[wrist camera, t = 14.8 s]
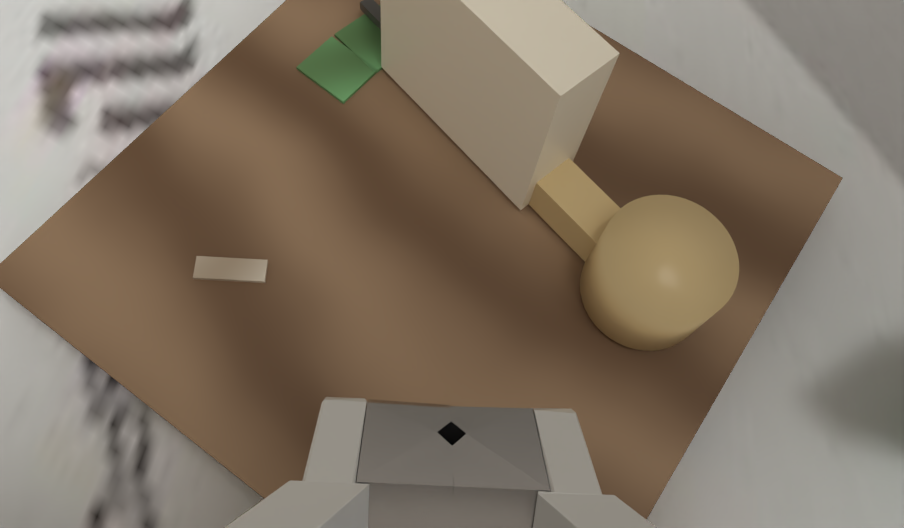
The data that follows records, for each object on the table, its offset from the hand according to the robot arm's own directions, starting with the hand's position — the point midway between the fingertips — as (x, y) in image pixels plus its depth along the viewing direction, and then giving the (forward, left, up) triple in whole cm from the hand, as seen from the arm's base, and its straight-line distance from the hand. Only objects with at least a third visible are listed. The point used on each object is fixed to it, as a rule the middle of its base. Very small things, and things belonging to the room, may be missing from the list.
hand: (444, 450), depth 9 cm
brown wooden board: (-9, -5, -17) cm, 20 cm away
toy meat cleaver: (-13, -5, -15) cm, 20 cm away
